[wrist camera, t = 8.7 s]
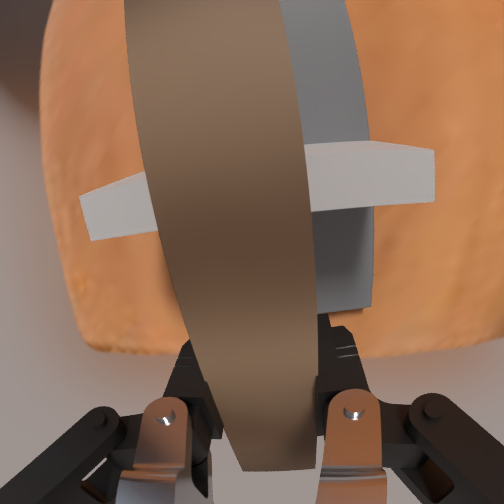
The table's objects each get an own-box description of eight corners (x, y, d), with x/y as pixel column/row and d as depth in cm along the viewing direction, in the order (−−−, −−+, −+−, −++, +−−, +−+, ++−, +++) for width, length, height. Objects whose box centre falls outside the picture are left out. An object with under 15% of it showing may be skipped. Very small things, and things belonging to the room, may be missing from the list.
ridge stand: (141, 38, 15) (61, -3, 7) (339, 7, 14) (380, -64, 5) (194, 312, 24) (159, 400, 15) (366, 296, 22) (404, 383, 13)
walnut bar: (165, -50, 5) (127, -98, 2) (251, -68, 5) (240, -126, 2) (249, 411, 13) (242, 471, 10) (310, 407, 12) (315, 468, 9)
